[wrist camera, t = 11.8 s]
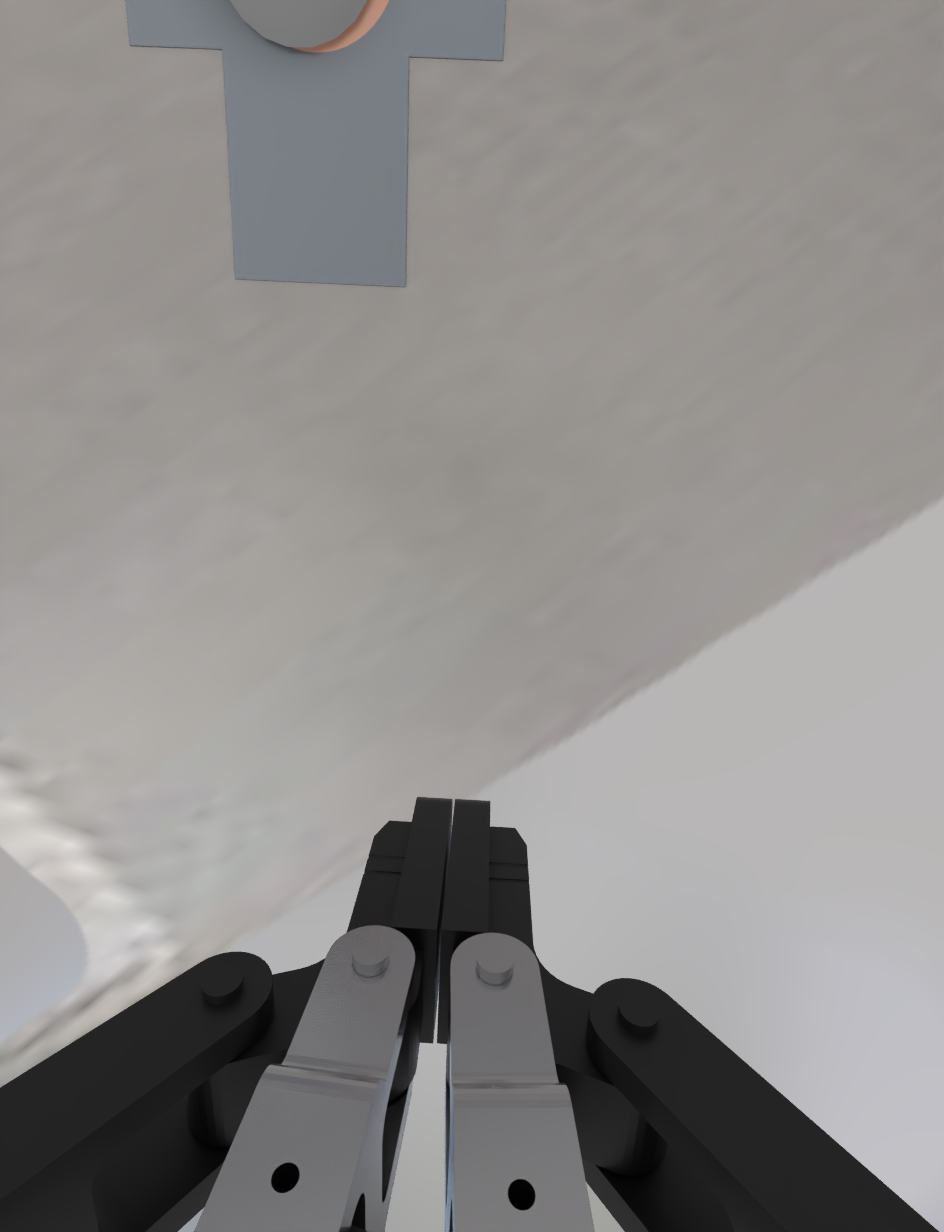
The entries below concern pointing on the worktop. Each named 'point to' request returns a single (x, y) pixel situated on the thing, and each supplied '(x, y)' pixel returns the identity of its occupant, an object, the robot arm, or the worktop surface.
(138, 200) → the worktop surface
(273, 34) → the can
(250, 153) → the t mat
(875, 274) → the worktop surface
